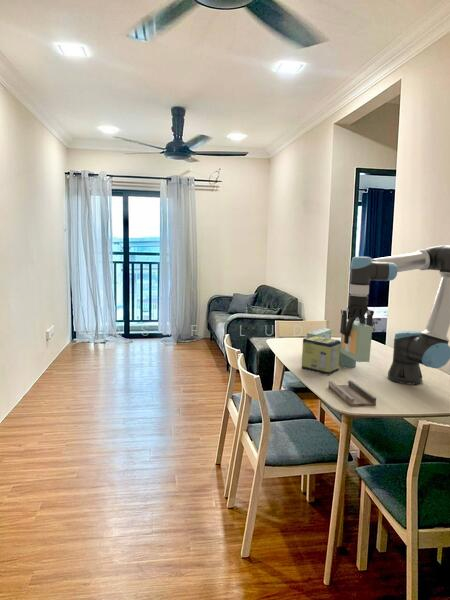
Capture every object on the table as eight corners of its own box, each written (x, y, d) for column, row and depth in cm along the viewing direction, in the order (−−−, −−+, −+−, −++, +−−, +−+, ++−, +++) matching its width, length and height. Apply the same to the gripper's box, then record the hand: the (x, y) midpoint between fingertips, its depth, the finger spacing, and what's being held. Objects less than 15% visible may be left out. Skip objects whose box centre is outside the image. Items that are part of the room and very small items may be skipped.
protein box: (310, 364, 224) (312, 335, 222) (338, 370, 215) (340, 340, 213) (300, 368, 216) (302, 338, 214) (329, 375, 207) (331, 343, 205)
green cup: (357, 369, 218) (359, 346, 217) (337, 367, 220) (338, 344, 219) (355, 363, 228) (357, 341, 227) (336, 362, 230) (337, 340, 228)
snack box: (314, 362, 229) (315, 334, 227) (304, 360, 233) (306, 332, 231) (330, 354, 246) (332, 328, 244) (321, 352, 249) (322, 327, 247)
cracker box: (369, 361, 170) (372, 326, 168) (357, 362, 169) (359, 326, 167) (351, 351, 186) (353, 319, 184) (339, 351, 185) (342, 319, 183)
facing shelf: (350, 386, 191) (351, 380, 190) (375, 405, 169) (376, 398, 169) (327, 387, 189) (328, 380, 189) (350, 406, 168) (350, 399, 167)
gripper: (374, 294, 179) (370, 348, 182) (333, 293, 176) (329, 349, 179) (384, 296, 172) (379, 353, 175) (341, 295, 169) (337, 353, 172)
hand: (354, 351), depth 177 cm, fingers closed on cracker box, 5 cm apart
